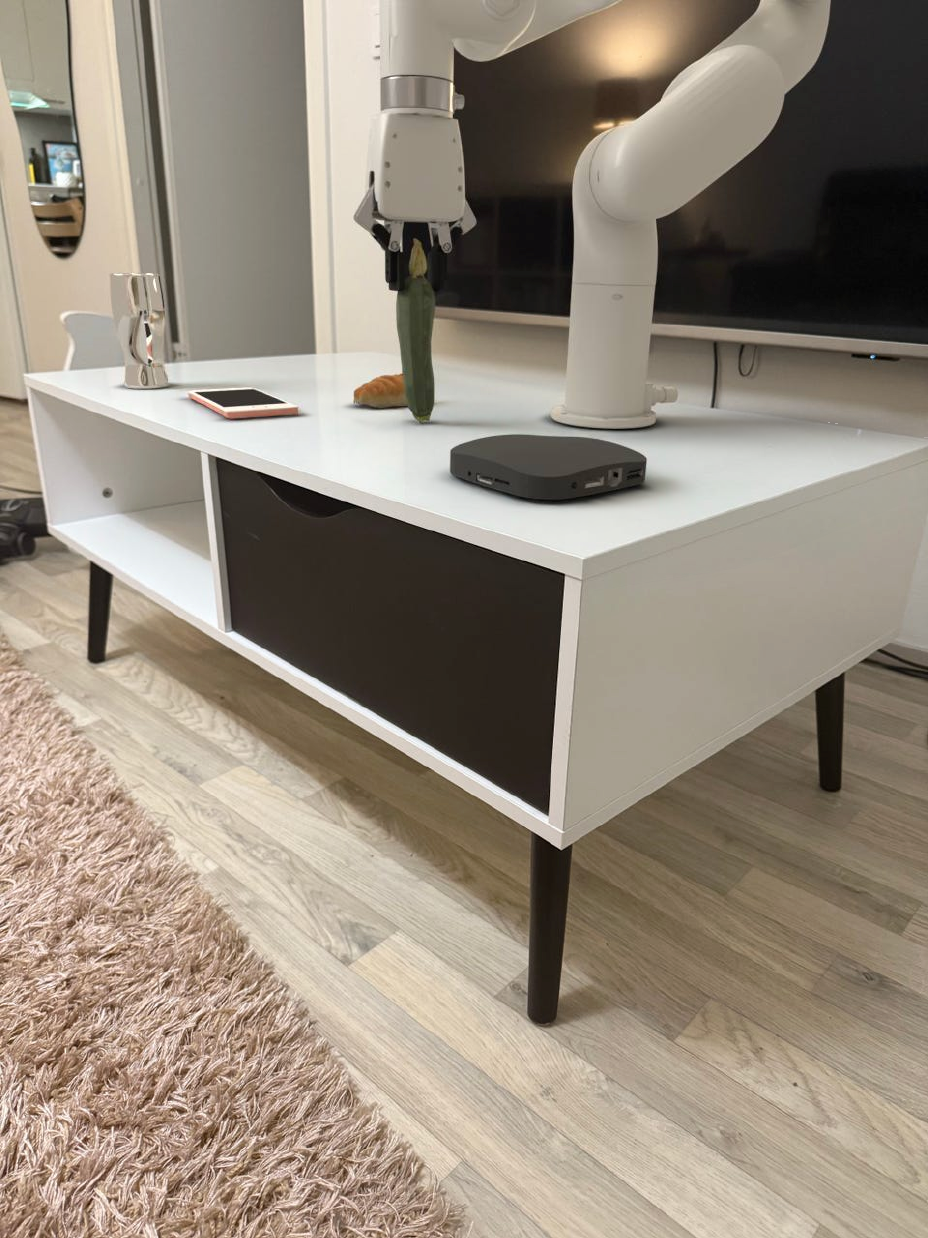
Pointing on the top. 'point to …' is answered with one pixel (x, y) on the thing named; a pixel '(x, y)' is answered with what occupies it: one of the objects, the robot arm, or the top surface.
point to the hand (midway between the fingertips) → (416, 288)
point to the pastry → (382, 392)
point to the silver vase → (140, 327)
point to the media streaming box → (547, 465)
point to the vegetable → (417, 336)
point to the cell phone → (242, 402)
